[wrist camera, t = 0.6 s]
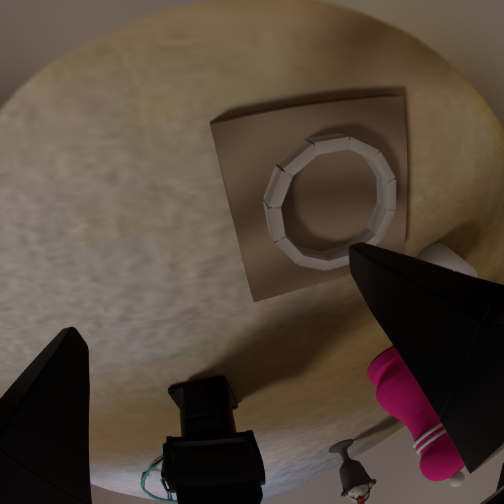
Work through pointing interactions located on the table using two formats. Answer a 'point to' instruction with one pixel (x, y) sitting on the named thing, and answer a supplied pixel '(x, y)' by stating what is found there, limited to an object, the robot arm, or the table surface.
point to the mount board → (314, 187)
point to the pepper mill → (416, 417)
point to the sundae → (353, 475)
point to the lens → (445, 259)
